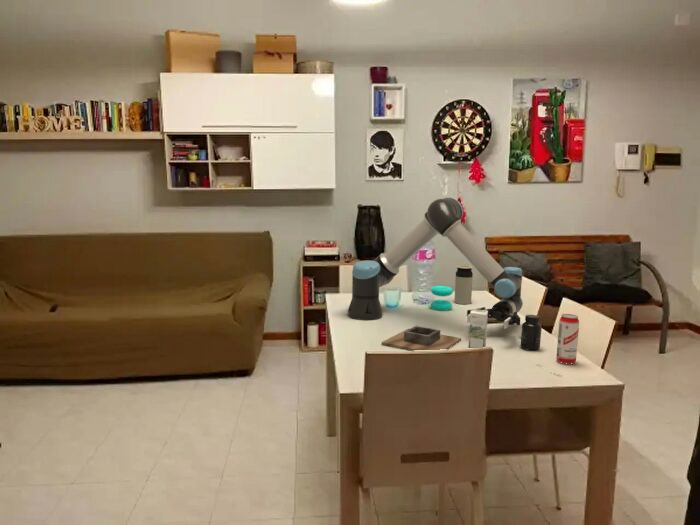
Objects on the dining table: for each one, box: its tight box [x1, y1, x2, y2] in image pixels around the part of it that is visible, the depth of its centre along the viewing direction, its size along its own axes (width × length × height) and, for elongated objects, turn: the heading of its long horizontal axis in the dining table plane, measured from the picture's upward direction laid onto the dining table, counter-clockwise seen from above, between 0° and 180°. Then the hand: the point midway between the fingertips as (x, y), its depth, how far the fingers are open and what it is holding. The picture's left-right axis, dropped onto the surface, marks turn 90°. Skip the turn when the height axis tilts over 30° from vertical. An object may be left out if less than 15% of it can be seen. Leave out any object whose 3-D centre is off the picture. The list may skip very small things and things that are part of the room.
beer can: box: [555, 313, 580, 365], centre depth 187 cm, size 6×6×16 cm
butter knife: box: [536, 364, 563, 377], centre depth 186 cm, size 1×24×3 cm
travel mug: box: [454, 264, 474, 305], centre depth 269 cm, size 8×8×18 cm
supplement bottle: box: [520, 314, 542, 352], centre depth 201 cm, size 7×7×12 cm
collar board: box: [381, 325, 462, 351], centre depth 206 cm, size 22×22×4 cm
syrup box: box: [467, 308, 489, 349], centre depth 197 cm, size 6×6×14 cm
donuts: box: [430, 285, 454, 311], centre depth 258 cm, size 10×10×10 cm
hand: (486, 321), depth 203 cm, fingers open, 13 cm apart
